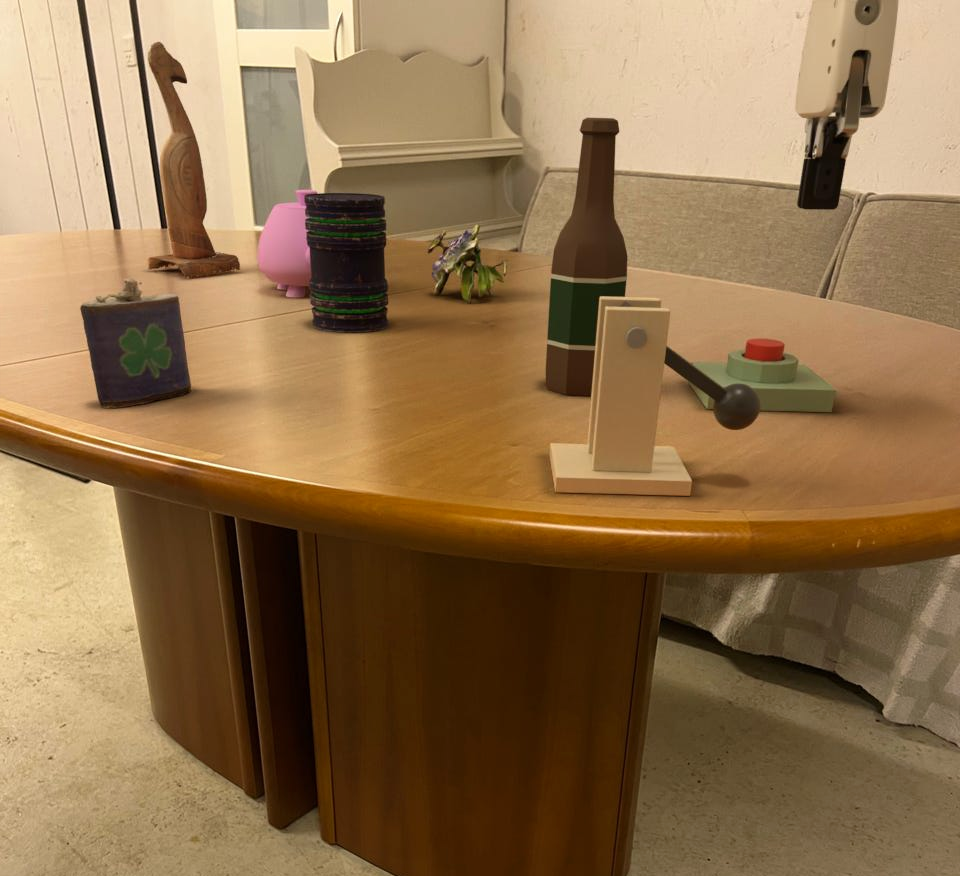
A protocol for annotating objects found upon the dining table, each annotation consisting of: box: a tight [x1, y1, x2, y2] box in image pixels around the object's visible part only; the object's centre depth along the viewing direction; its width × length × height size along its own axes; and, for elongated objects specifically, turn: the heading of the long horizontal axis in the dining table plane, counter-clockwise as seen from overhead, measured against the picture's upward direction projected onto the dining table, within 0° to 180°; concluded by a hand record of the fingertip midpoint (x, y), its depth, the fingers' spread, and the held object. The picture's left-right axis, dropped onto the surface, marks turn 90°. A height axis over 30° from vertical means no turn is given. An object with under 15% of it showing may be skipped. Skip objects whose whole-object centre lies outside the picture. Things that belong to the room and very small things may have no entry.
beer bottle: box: [545, 117, 628, 397], centre depth 89 cm, size 8×8×24 cm
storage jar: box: [304, 192, 389, 334], centre depth 115 cm, size 10×10×15 cm
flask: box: [79, 278, 192, 409], centre depth 85 cm, size 9×3×11 cm, turn 136°
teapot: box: [256, 189, 318, 298], centre depth 135 cm, size 22×16×14 cm
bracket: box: [549, 296, 693, 497], centre depth 69 cm, size 10×8×13 cm
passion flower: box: [427, 223, 509, 304], centre depth 137 cm, size 11×11×12 cm
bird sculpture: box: [147, 41, 241, 279], centre depth 145 cm, size 11×12×32 cm
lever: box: [621, 301, 760, 431], centre depth 68 cm, size 13×3×3 cm
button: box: [744, 337, 786, 362], centre depth 91 cm, size 4×4×2 cm
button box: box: [687, 348, 837, 413], centre depth 92 cm, size 12×10×4 cm
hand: (816, 208), depth 83 cm, fingers closed
